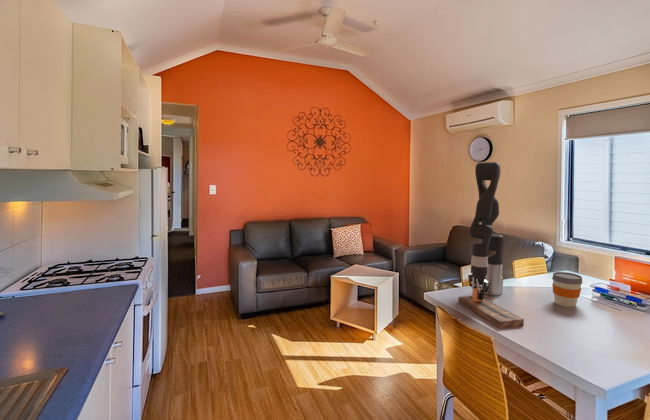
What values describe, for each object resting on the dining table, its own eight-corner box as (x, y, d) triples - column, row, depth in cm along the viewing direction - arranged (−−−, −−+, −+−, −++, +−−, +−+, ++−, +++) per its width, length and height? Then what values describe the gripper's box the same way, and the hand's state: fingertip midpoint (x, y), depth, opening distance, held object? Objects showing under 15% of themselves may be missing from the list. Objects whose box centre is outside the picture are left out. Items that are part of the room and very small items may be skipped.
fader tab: (479, 299, 170) (479, 287, 170) (483, 301, 167) (483, 289, 167) (472, 299, 170) (472, 288, 169) (475, 301, 167) (476, 290, 166)
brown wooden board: (478, 300, 177) (478, 295, 177) (523, 325, 148) (523, 318, 147) (458, 302, 174) (458, 296, 174) (499, 328, 145) (500, 321, 145)
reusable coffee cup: (548, 304, 173) (550, 275, 171) (552, 297, 182) (554, 270, 180) (578, 310, 164) (581, 280, 163) (581, 303, 173) (584, 275, 172)
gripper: (496, 267, 160) (494, 302, 162) (476, 260, 174) (475, 292, 176) (482, 268, 159) (480, 303, 161) (463, 261, 173) (462, 293, 174)
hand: (477, 297), depth 168 cm, fingers open, 4 cm apart
